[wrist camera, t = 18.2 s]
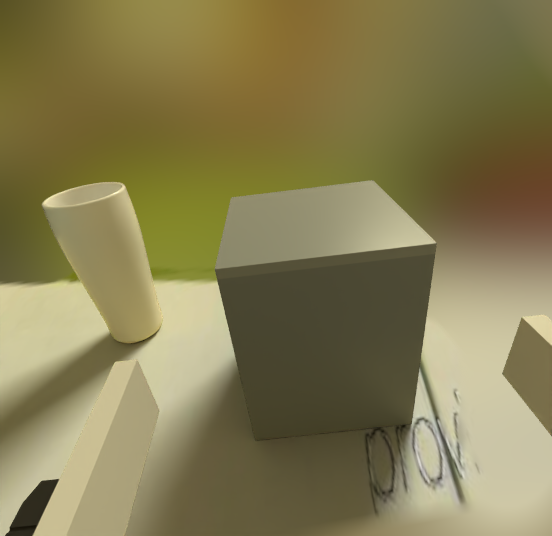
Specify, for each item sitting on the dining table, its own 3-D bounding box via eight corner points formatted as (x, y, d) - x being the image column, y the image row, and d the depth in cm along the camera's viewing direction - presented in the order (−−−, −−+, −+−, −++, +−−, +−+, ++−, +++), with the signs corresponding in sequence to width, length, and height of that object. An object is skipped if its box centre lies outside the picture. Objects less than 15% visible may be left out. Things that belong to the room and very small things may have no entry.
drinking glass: (92, 340, 36) (23, 204, 28) (142, 304, 41) (94, 179, 33) (135, 359, 33) (70, 211, 25) (184, 317, 38) (142, 183, 30)
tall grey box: (255, 440, 24) (214, 269, 17) (256, 335, 34) (231, 197, 27) (411, 423, 24) (436, 243, 17) (368, 322, 33) (373, 180, 26)
